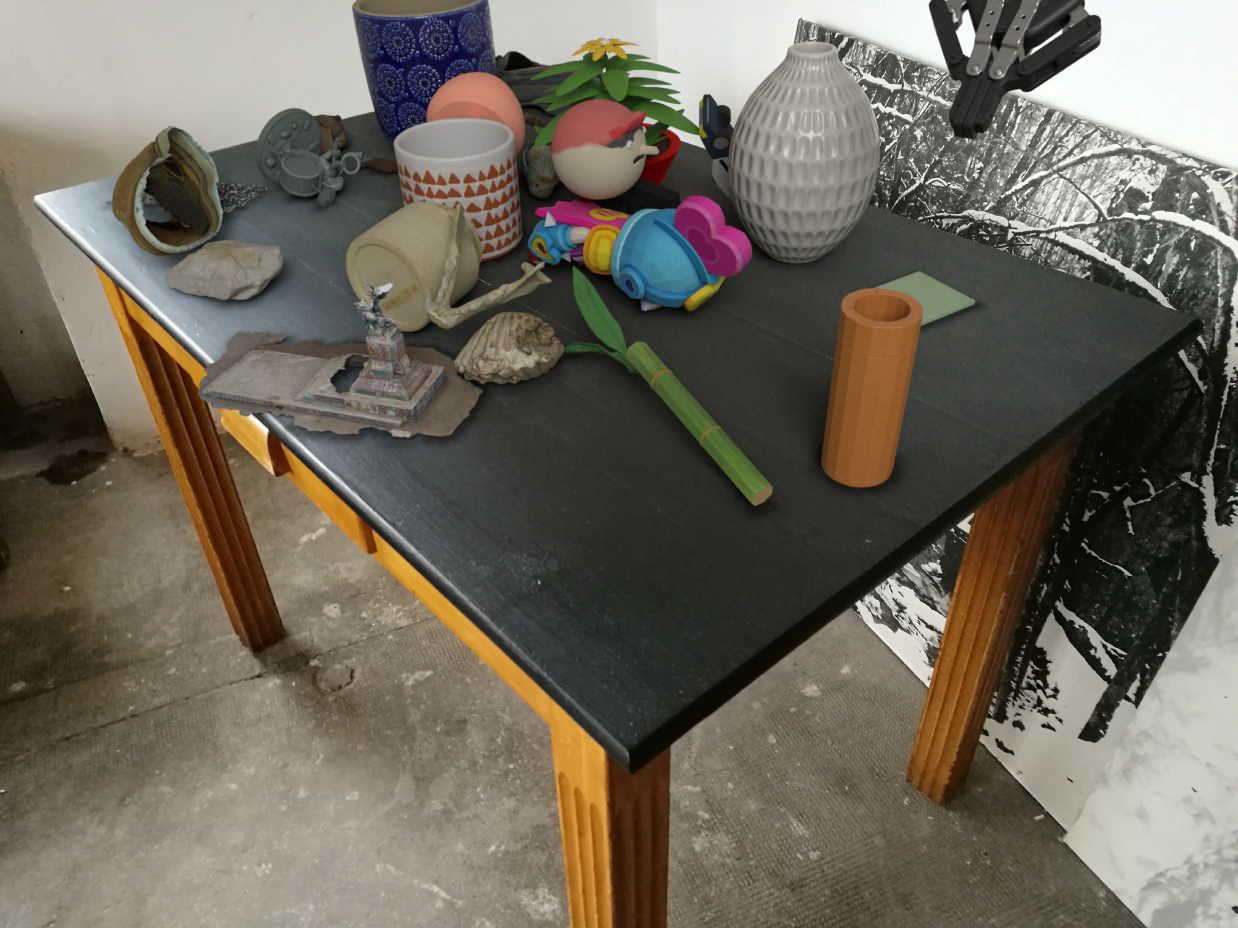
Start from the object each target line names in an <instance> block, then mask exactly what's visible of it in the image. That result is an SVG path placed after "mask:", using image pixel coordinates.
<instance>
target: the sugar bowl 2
mask: <svg viewBox="0 0 1238 928" xmlns="http://www.w3.org/2000/svg"><path fill="white" fill-rule="evenodd" d="M522 108H523V107H521V105H520V103H519V101H518V99H517V98H516V96H515V94H514V93H513V92H512V90H511V89H510V88H509V87H508V85H507V84H506V83H505V82H503V81H502V80H501V79H499V78H498V77H496V76H494V75H491V74H488V73H483V72H472V73H466V74H462V75H459V76H456V77H454V78H452V79H451V80H449V81H447V82H446V83H445V84H444V85H442V86H441V87H440V88H439V89H438V91H437V92H436V93H435V94H434V96H433V97H432V99H431V101H430V103H429V106H428V109H427V122H431V121H436V120H443V119H453V118H478V119H487V120H492V121H496V122H500V123H502V124H504V125H506V126H508V127H509V128H510V129H511V130H512V131H513V133H514V137H515V147H516V158H517V157H518V156H519V155H520V153H521V151H522V149H523V147H524V143H525V138H526V123H525V119H524V117H525V115H524V111H523V109H522Z"/></svg>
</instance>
